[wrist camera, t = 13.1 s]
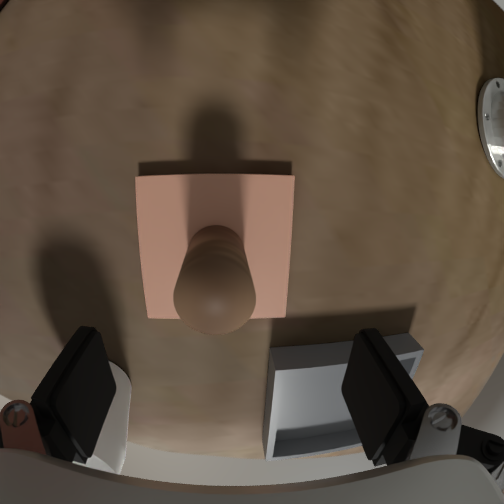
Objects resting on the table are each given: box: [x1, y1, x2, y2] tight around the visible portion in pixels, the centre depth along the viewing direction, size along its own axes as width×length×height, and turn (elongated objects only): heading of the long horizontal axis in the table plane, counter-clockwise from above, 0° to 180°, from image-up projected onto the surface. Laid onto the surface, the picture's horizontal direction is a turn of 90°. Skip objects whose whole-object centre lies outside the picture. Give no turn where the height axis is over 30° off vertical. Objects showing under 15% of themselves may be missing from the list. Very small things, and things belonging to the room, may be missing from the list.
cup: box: [72, 361, 131, 475], centre depth 22 cm, size 9×9×12 cm
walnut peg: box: [173, 225, 256, 335], centre depth 19 cm, size 4×4×8 cm
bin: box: [262, 333, 424, 461], centre depth 29 cm, size 16×16×4 cm
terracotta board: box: [135, 174, 295, 319], centre depth 23 cm, size 12×12×1 cm
